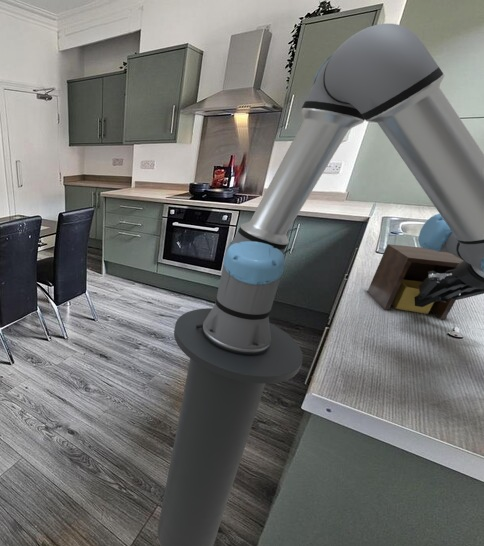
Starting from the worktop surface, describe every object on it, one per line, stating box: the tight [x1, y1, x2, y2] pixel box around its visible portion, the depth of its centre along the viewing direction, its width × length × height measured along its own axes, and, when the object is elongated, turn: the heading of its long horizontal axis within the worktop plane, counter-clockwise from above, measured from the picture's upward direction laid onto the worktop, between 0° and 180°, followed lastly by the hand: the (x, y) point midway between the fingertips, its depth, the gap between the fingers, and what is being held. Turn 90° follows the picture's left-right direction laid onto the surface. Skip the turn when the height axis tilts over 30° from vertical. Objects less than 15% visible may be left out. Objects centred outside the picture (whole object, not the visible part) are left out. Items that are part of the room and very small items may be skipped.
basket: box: [391, 279, 434, 315], centre depth 91 cm, size 7×7×7 cm
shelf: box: [367, 243, 463, 320], centre depth 90 cm, size 13×13×16 cm
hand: (418, 302), depth 87 cm, fingers closed
